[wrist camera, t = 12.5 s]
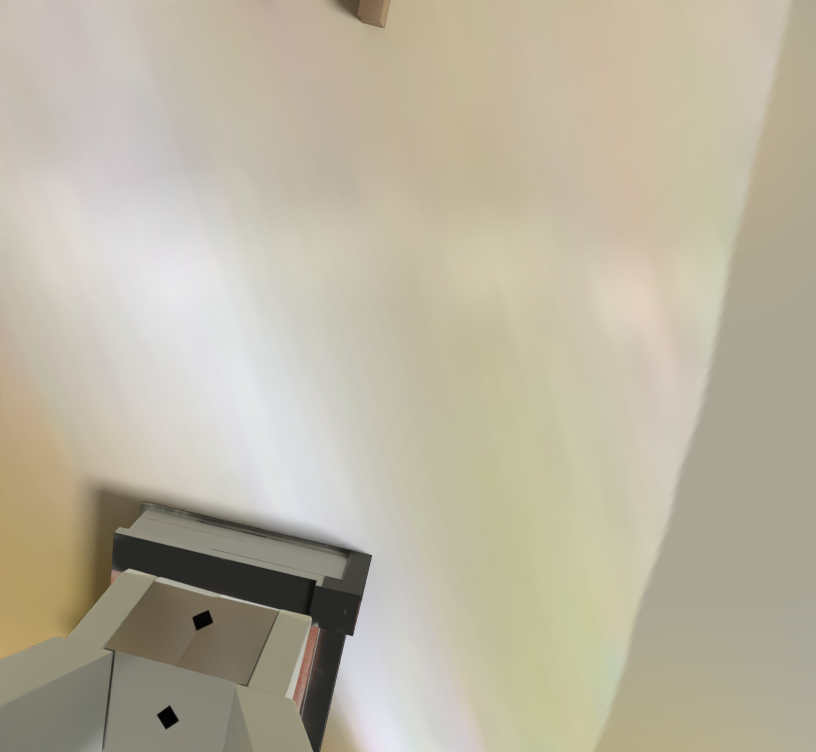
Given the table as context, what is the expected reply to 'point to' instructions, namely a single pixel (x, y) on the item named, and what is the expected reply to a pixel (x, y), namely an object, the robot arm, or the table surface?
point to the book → (258, 584)
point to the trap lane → (373, 12)
